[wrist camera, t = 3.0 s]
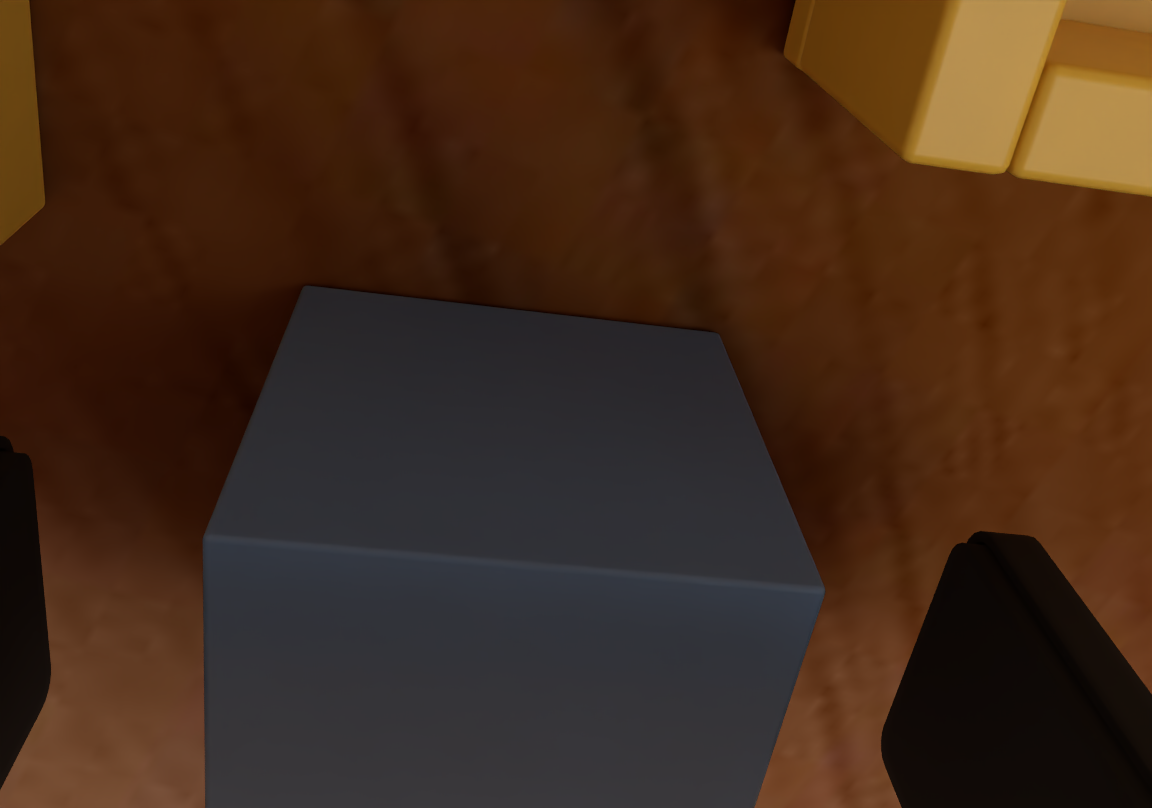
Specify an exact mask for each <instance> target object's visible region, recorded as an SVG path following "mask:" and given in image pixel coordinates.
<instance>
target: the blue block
mask: <svg viewBox="0 0 1152 808" xmlns="http://www.w3.org/2000/svg"><path fill="white" fill-rule="evenodd" d="M824 595H825V587H824V585H823V582H822V580H821V577H820V575H819V573H818V570H817V568H816V565H815V563H814V561H813V558H812V556H811V553H810V551H809V549H808V546H807V544H806V541H805V539H804V537H803V534H802V532H801V529H800V527H799V525H798V522H797V520H796V517H795V515H794V513H793V510H792V508H791V505H790V503H789V501H788V498H787V496H786V493H785V491H784V489H783V486H782V484H781V481H780V479H779V477H778V474H777V472H776V470H775V467H774V465H773V462H772V460H771V458H770V455H769V453H768V450H767V448H766V446H765V443H764V441H763V438H762V436H761V434H760V431H759V429H758V426H757V424H756V422H755V419H754V417H753V414H752V412H751V410H750V407H749V405H748V402H747V400H746V398H745V395H744V393H743V390H742V388H741V386H740V383H739V381H738V378H737V376H736V374H735V371H734V369H733V366H732V364H731V362H730V359H729V357H728V354H727V352H726V350H725V347H724V345H723V343H722V340H721V338H720V335H719V334H717V333H714V332H705V331H696V330H688V329H679V328H670V327H662V326H653V325H644V324H636V323H627V322H618V321H610V320H601V319H592V318H584V317H575V316H566V315H558V314H549V313H540V312H532V311H523V310H514V309H506V308H497V307H488V306H480V305H471V304H462V303H454V302H445V301H436V300H428V299H419V298H411V297H402V296H393V295H385V294H376V293H367V292H359V291H350V290H341V289H333V288H324V287H315V286H304V287H303V288H302V290H301V293H300V295H299V298H298V300H297V303H296V305H295V308H294V311H293V313H292V316H291V318H290V321H289V323H288V326H287V328H286V331H285V333H284V336H283V338H282V341H281V343H280V346H279V348H278V351H277V353H276V356H275V358H274V361H273V363H272V366H271V368H270V371H269V373H268V376H267V378H266V381H265V383H264V386H263V388H262V391H261V393H260V396H259V398H258V401H257V403H256V406H255V408H254V411H253V413H252V416H251V418H250V421H249V423H248V426H247V428H246V431H245V434H244V436H243V439H242V441H241V444H240V446H239V449H238V451H237V454H236V456H235V459H234V461H233V464H232V466H231V469H230V471H229V474H228V476H227V479H226V481H225V484H224V486H223V489H222V491H221V494H220V496H219V499H218V501H217V504H216V506H215V509H214V511H213V514H212V516H211V519H210V521H209V524H208V526H207V529H206V531H205V534H204V536H203V622H204V723H205V808H754V807H755V804H756V801H757V798H758V795H759V792H760V789H761V786H762V783H763V780H764V777H765V774H766V771H767V768H768V765H769V761H770V758H771V755H772V752H773V749H774V746H775V743H776V740H777V737H778V734H779V731H780V728H781V725H782V722H783V719H784V716H785V713H786V710H787V707H788V704H789V701H790V698H791V695H792V692H793V689H794V686H795V683H796V680H797V677H798V674H799V671H800V668H801V665H802V661H803V658H804V655H805V652H806V649H807V646H808V643H809V640H810V637H811V634H812V631H813V628H814V625H815V622H816V619H817V616H818V613H819V610H820V607H821V604H822V601H823V598H824Z"/></svg>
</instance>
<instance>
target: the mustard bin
mask: <svg viewBox="0 0 1152 808" xmlns="http://www.w3.org/2000/svg"><path fill="white" fill-rule="evenodd" d="M784 57H785V58H786V59H787V60H789V61H790V62H791V63H792V64H793V65H794V66H795V67H797V68H798V69H800V70H802V71H803V72H804V73H805V74H806V75H808V76H809V77H810V78H811V79H812V80H813V81H814V82H815V83H817V84H818V85H819V86H820V87H821V88H822V89H823V90H825V91H826V92H827V93H828V94H829V95H830V96H831V97H832V98H834V99H835V100H836V101H837V102H838V103H839V104H840V105H842V106H843V107H844V108H845V109H846V110H847V111H848V112H849V113H851V114H852V115H853V116H854V117H855V118H856V119H857V120H859V121H860V122H861V123H862V124H863V125H864V126H865V127H866V128H868V129H869V130H870V131H871V132H872V133H873V134H874V135H876V136H877V137H878V138H879V139H880V140H881V141H882V142H883V143H885V144H886V145H887V146H888V147H889V148H890V149H891V150H893V151H894V152H895V153H896V154H897V155H898V156H899V157H900V158H902V159H903V160H905V161H906V162H908V163H912V164H919V165H927V166H934V167H941V168H948V169H955V170H962V171H970V172H977V173H984V174H991V175H993V174H998V173H1004V172H1005V171H1008V172H1009V173H1010V174H1012V175H1013V176H1015V177H1016V178H1020V179H1028V180H1035V181H1042V182H1049V183H1056V184H1063V185H1071V186H1078V187H1085V188H1092V189H1099V190H1106V191H1114V192H1121V193H1128V194H1135V195H1142V196H1149V197H1152V0H796V1H795V5H794V10H793V14H792V18H791V22H790V26H789V31H788V35H787V39H786V43H785V47H784Z"/></svg>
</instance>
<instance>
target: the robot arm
mask: <svg viewBox="0 0 1152 808" xmlns="http://www.w3.org/2000/svg"><path fill="white" fill-rule="evenodd" d="M50 676H51V662H50V652H49V641H48V630H47V619H46V608H45V597H44V587H43V576H42V565H41V554H40V543H39V532H38V522H37V511H36V500H35V489H34V478H33V468H32V463H31V460H30V458H29V456H28V455H27V454H25V453H15V452H14V451H13V447H12V444H11V442H10V440H9V439H7V438H6V437H5V436H0V789H1V787H2V785H3V783H4V781H5V779H6V777H7V776H8V774H9V772H10V770H11V768H12V766H13V764H14V762H15V760H16V758H17V756H18V754H19V752H20V750H21V748H22V746H23V744H24V742H25V740H26V738H27V737H28V735H29V733H30V731H31V729H32V727H33V725H34V723H35V721H36V719H37V717H38V715H39V713H40V711H41V709H42V707H43V705H44V702H45V700H46V697H47V693H48V689H49V684H50ZM881 751H882V758H883V761H884V765H885V767H886V770H887V772H888V775H889V777H890V780H891V782H892V785H893V787H894V790H895V792H896V795H897V797H898V800H899V802H900V804H901V807H902V808H1152V694H1151V693H1150V692H1149V690H1148V689H1147V687H1146V686H1145V685H1144V683H1143V682H1142V681H1141V679H1140V678H1139V677H1138V675H1137V674H1136V673H1135V671H1134V670H1133V669H1132V667H1131V666H1130V664H1129V663H1128V662H1127V660H1126V659H1125V658H1124V656H1123V655H1122V654H1121V652H1120V651H1119V650H1118V648H1117V647H1116V646H1115V644H1114V643H1113V641H1112V640H1111V639H1110V637H1109V636H1108V635H1107V633H1106V632H1105V631H1104V629H1103V628H1102V627H1101V625H1100V624H1099V622H1098V621H1097V620H1096V618H1095V617H1094V616H1093V614H1092V613H1091V612H1090V610H1089V609H1088V608H1087V606H1086V605H1085V604H1084V602H1083V601H1082V599H1081V598H1080V597H1079V595H1078V594H1077V593H1076V591H1075V590H1074V589H1073V587H1072V586H1071V585H1070V583H1069V582H1068V580H1067V579H1066V578H1065V576H1064V575H1063V574H1062V572H1061V571H1060V570H1059V568H1058V567H1057V566H1056V564H1055V563H1054V562H1053V560H1052V559H1051V557H1050V556H1049V555H1048V553H1047V552H1046V551H1045V549H1044V548H1043V547H1042V545H1041V544H1040V543H1039V542H1038V541H1037V540H1036V539H1035V538H1034V537H1030V536H1026V535H1015V534H1005V533H995V532H984V531H979V532H976V533H974V534H973V535H972V536H971V537H970V538H969V539H968V541H967V543H960V544H957V545H956V546H955V547H954V548H953V549H952V551H951V553H950V555H949V558H948V560H947V563H946V565H945V568H944V571H943V573H942V576H941V578H940V581H939V584H938V586H937V589H936V591H935V594H934V597H933V599H932V602H931V604H930V607H929V610H928V612H927V615H926V617H925V620H924V623H923V625H922V628H921V631H920V633H919V636H918V638H917V641H916V644H915V646H914V649H913V651H912V654H911V657H910V659H909V662H908V664H907V667H906V670H905V672H904V675H903V677H902V680H901V683H900V685H899V688H898V690H897V693H896V696H895V698H894V701H893V703H892V706H891V709H890V711H889V714H888V716H887V719H886V722H885V724H884V727H883V731H882V738H881Z"/></svg>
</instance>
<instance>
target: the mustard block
mask: <svg viewBox="0 0 1152 808" xmlns="http://www.w3.org/2000/svg"><path fill="white" fill-rule="evenodd" d="M44 205H45V193H44V180H43V167H42V155H41V142H40V130H39V117H38V104H37V92H36V79H35V66H34V54H33V41H32V29H31V16H30V3H29V0H0V246H1V245H2V244H3V243H4V242H5V241H6V240H7V239H8V238H10V237H11V236H12V235H13V234H14V233H15V232H16V231H17V230H18V229H20V228H21V227H22V226H23V225H24V224H25V223H26V222H27V221H29V220H30V219H31V218H32V217H33V216H34V215H35V214H36V213H37V212H39V211H40V210H41V209H42V208H43V207H44Z"/></svg>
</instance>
